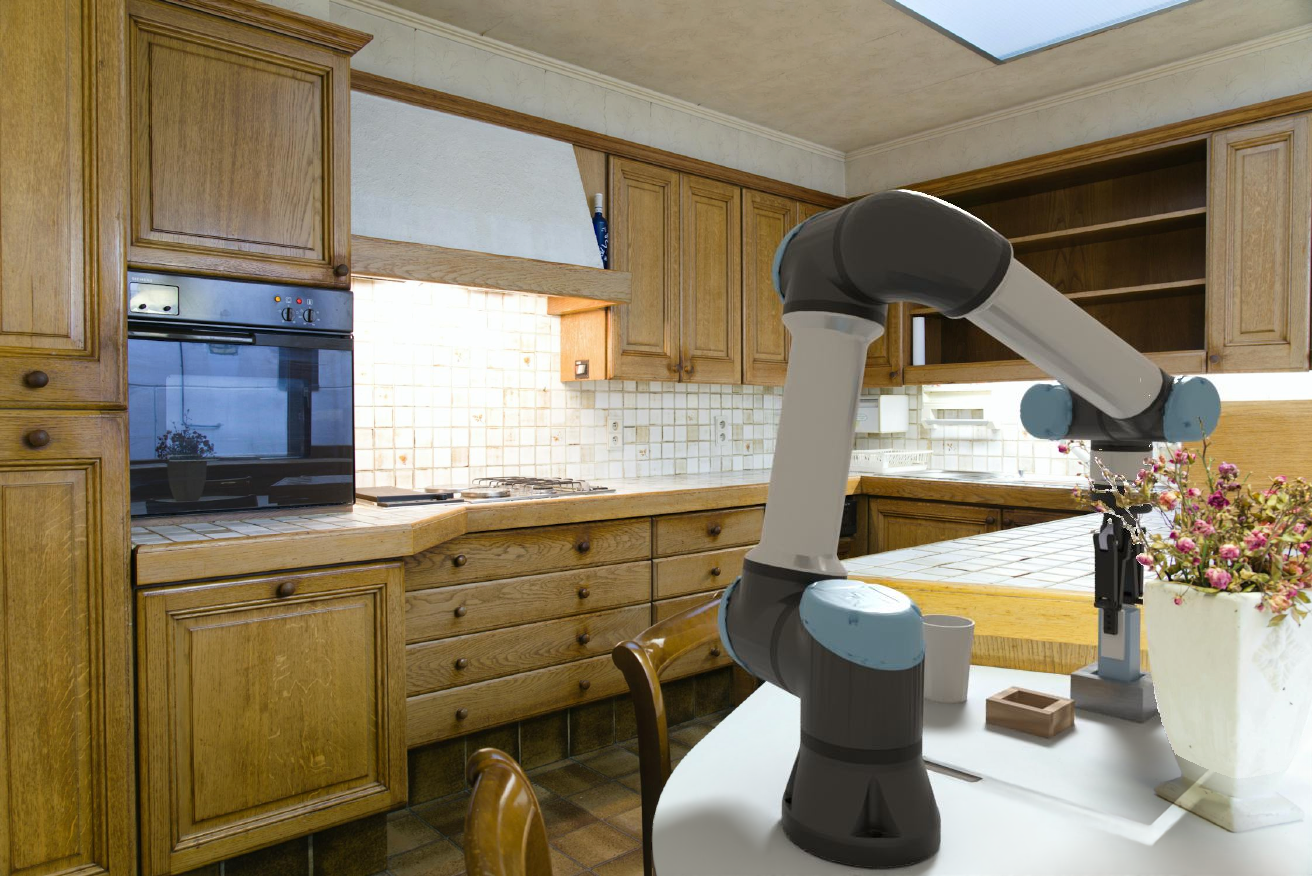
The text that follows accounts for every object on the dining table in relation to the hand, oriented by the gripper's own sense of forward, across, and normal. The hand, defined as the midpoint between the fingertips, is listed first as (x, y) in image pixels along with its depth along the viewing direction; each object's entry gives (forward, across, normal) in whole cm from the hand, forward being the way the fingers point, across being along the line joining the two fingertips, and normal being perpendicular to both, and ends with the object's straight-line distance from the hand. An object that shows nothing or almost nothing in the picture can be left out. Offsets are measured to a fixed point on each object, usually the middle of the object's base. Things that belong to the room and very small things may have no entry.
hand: (1118, 653), depth 117 cm
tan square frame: (+8, -15, +6) cm, 18 cm away
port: (+8, 0, 0) cm, 8 cm away
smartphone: (+9, -32, +11) cm, 35 cm away
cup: (+9, -13, +19) cm, 24 cm away
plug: (+4, 0, 0) cm, 4 cm away
